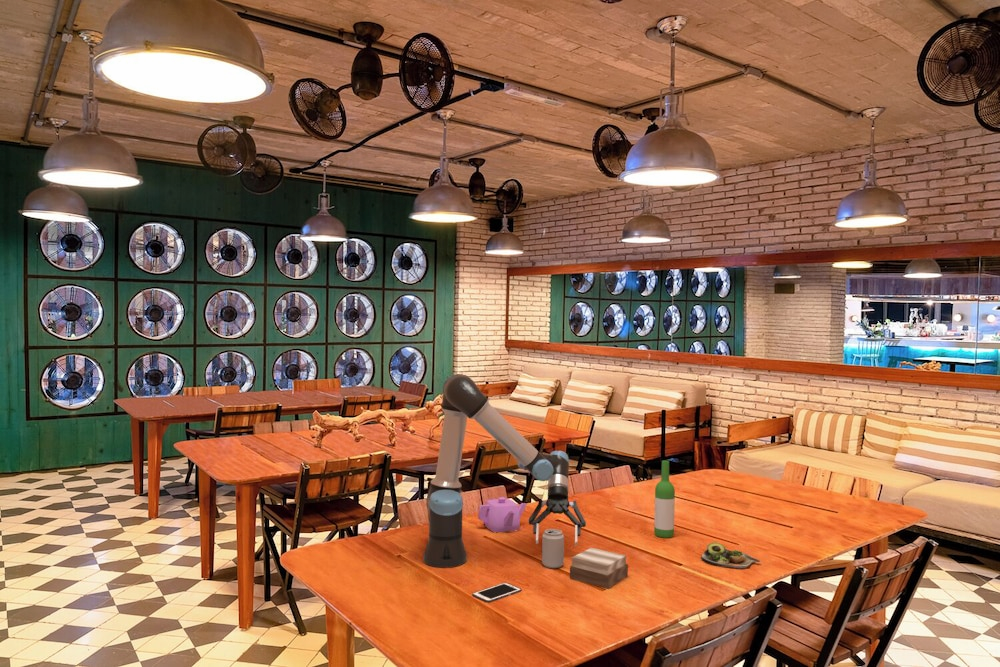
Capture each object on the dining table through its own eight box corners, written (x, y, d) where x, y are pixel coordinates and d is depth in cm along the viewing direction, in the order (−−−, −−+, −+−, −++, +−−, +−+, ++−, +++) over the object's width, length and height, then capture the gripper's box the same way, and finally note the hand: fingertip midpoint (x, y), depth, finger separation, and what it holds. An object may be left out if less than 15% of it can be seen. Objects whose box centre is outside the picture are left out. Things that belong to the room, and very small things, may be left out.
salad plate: (763, 559, 246) (763, 546, 246) (755, 574, 231) (755, 560, 231) (709, 550, 256) (709, 538, 256) (697, 563, 240) (698, 550, 240)
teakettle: (491, 519, 290) (491, 491, 290) (528, 525, 284) (528, 495, 284) (473, 530, 275) (474, 500, 275) (512, 536, 268) (513, 505, 268)
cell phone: (471, 596, 207) (471, 593, 207) (505, 584, 217) (505, 581, 217) (488, 604, 202) (488, 601, 202) (522, 592, 212) (522, 588, 212)
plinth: (607, 588, 214) (608, 566, 214) (569, 578, 223) (570, 557, 223) (627, 576, 226) (628, 555, 226) (590, 567, 234) (591, 546, 234)
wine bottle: (672, 533, 275) (673, 459, 275) (675, 539, 268) (676, 463, 268) (652, 532, 276) (654, 458, 276) (655, 538, 268) (656, 462, 268)
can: (550, 560, 240) (550, 526, 240) (567, 565, 236) (568, 530, 235) (537, 565, 235) (538, 531, 234) (555, 570, 230) (556, 535, 230)
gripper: (591, 496, 252) (592, 549, 238) (524, 493, 255) (521, 546, 240) (592, 485, 247) (592, 539, 232) (524, 483, 250) (520, 536, 235)
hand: (556, 543), depth 236 cm, fingers open, 13 cm apart
